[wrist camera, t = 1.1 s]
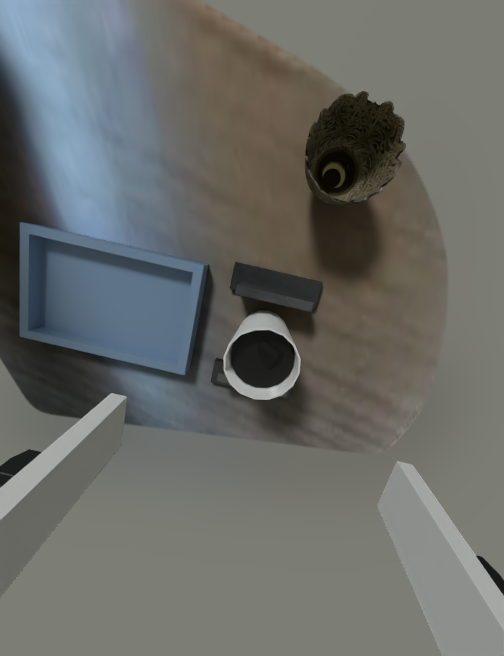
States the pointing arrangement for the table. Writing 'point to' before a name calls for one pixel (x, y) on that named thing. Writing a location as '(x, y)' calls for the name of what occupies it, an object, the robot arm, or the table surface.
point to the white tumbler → (262, 357)
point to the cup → (354, 149)
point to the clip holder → (269, 299)
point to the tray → (109, 298)
